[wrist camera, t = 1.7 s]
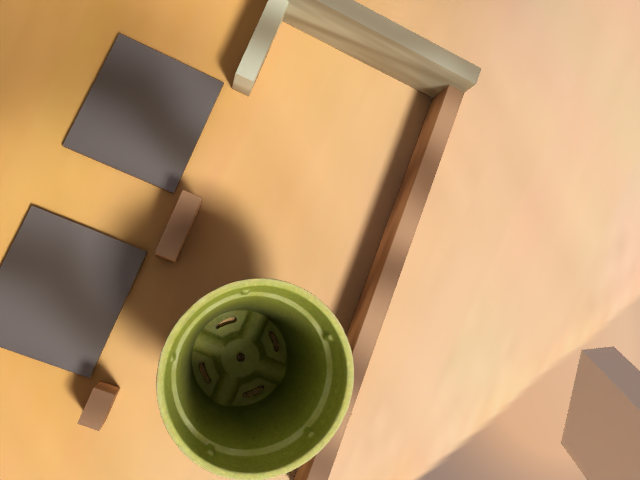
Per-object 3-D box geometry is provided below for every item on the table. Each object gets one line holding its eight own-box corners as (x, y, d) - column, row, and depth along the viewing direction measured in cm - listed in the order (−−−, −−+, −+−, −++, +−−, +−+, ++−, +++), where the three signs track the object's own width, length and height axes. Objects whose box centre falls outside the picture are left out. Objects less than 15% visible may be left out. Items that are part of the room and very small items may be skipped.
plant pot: (335, 391, 35) (384, 419, 27) (200, 463, 33) (206, 520, 24) (277, 260, 35) (307, 247, 27) (137, 322, 33) (122, 330, 24)
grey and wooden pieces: (309, 489, 34) (325, 513, 30) (-50, 369, 30) (-84, 379, 26) (452, 91, 40) (481, 68, 36) (166, -57, 35) (164, -100, 32)
